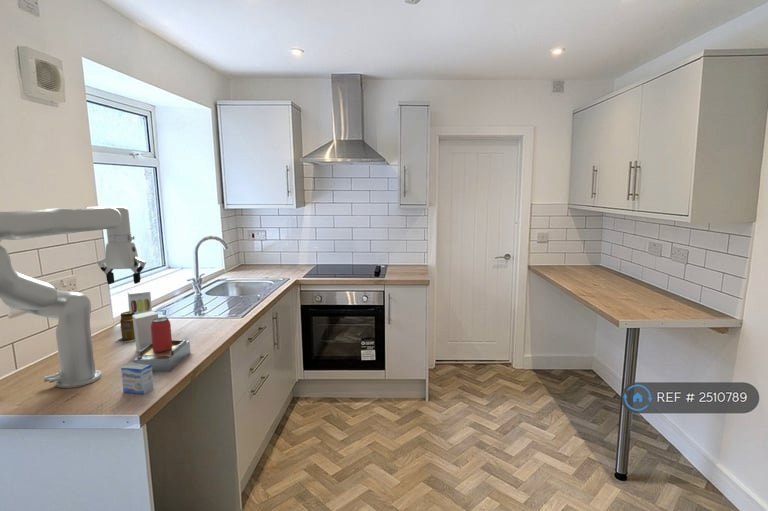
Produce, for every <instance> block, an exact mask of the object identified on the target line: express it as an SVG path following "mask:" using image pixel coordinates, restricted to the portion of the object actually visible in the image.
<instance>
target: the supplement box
mask: <svg viewBox="0 0 768 511" xmlns="http://www.w3.org/2000/svg"><path fill="white" fill-rule="evenodd" d="M151 297H152V296H151V291H150V289H149V288H140V289H131V290H127V298H128V299H127V300H128V311H133V312H134V313H135V315H136V314H141V313H146V312H150V311H153V309H152V298H151Z"/></svg>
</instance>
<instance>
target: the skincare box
mask: <svg viewBox="0 0 768 511" xmlns="http://www.w3.org/2000/svg"><path fill="white" fill-rule="evenodd" d="M132 317H133V325H134V333H135V340H134V342H135V347H136V349H135V350H136V351H137V352H138V353H139V351H140V350H142V349H143V348H145V347H146V346H147V345H149V344H150V343H152V335H151V323H152V320H153V319H155V318H159V314H158V313H157V312H155V311H154V310H152V311H150V312H146V313H141V314H136V315H132Z"/></svg>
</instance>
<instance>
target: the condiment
mask: <svg viewBox="0 0 768 511" xmlns="http://www.w3.org/2000/svg"><path fill="white" fill-rule="evenodd" d="M132 315H135V313H134V312H133V311H129V310H128V311H124V312H122V313H120V319H119V322H120V323H119V324H120V330H121V331H120V332H121V338H119V339H117V340H116V341H114V342H115V343H132V342H135V333H134V325H133V317H132Z"/></svg>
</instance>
